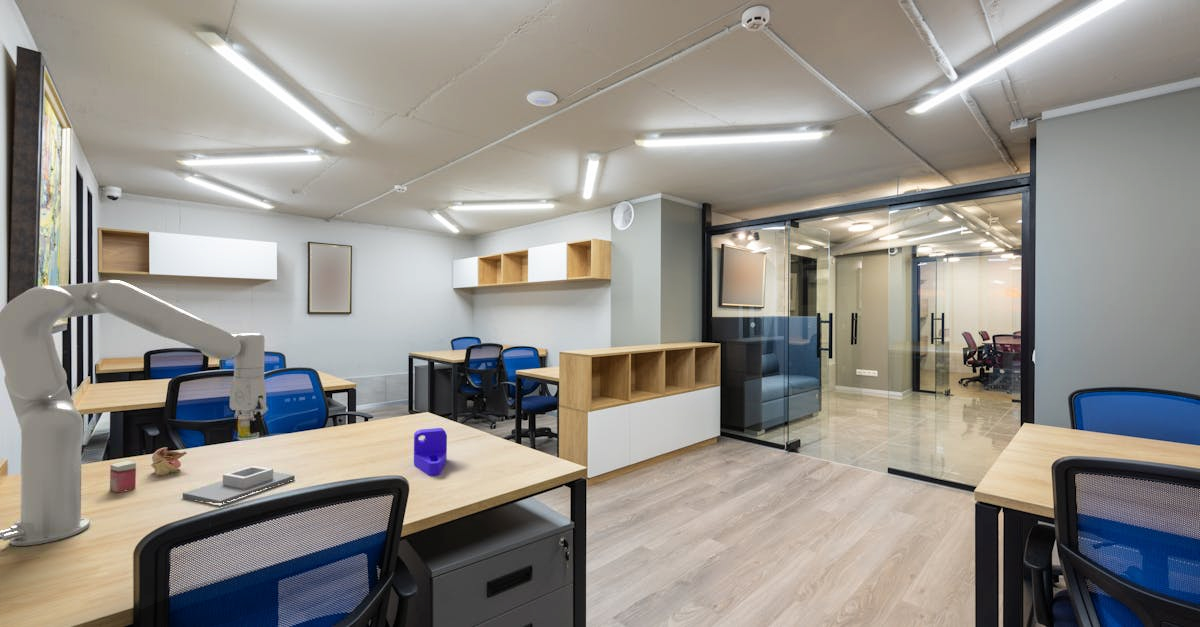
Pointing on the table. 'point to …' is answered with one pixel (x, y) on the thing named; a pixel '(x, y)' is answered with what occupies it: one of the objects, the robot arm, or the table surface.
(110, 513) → the table surface
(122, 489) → the small box
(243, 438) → the supplement bottle
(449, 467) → the table surface
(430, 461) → the bracket
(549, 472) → the table surface
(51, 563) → the table surface
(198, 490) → the socket holder
